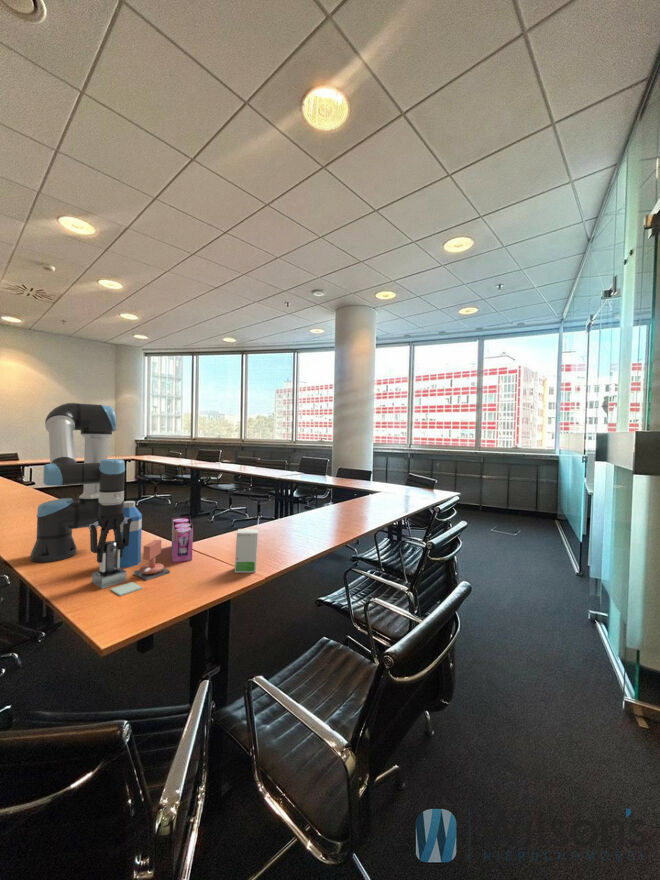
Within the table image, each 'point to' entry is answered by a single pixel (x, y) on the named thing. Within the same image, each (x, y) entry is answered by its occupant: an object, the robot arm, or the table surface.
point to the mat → (126, 588)
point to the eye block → (109, 578)
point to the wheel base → (151, 576)
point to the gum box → (182, 539)
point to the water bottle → (132, 536)
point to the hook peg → (110, 557)
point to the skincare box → (246, 551)
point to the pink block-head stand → (152, 558)
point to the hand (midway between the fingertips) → (109, 568)
